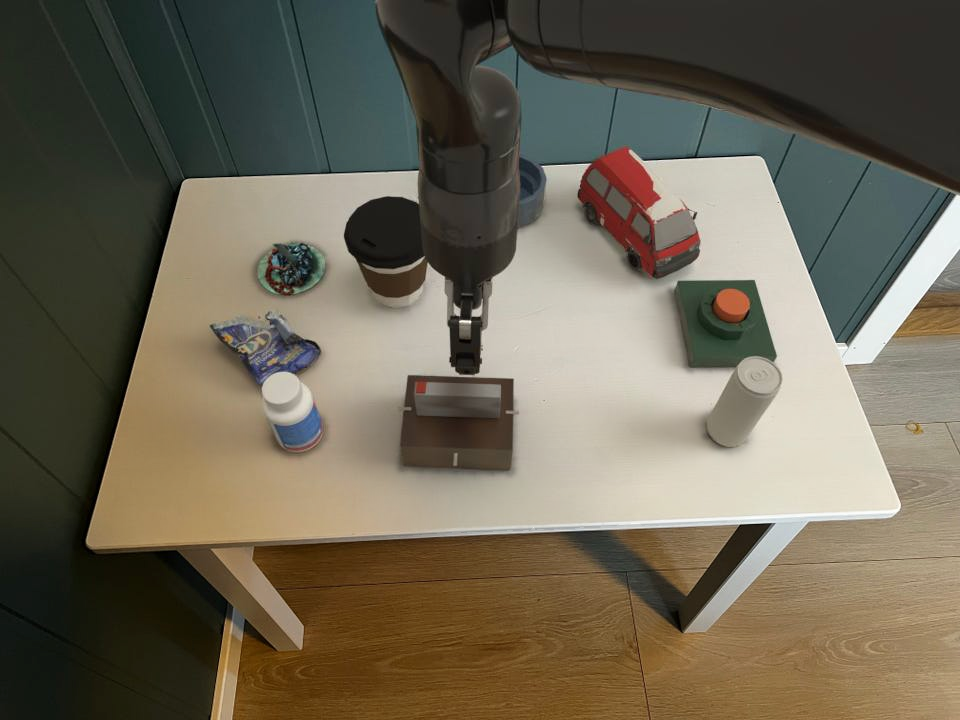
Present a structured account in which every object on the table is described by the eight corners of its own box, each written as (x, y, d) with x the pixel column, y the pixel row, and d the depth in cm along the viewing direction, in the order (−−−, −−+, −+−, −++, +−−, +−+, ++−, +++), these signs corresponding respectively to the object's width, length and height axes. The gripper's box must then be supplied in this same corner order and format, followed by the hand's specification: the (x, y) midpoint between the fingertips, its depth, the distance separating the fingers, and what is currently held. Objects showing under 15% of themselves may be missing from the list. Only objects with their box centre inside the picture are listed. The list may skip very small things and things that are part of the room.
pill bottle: (333, 428, 84) (318, 383, 76) (300, 462, 82) (281, 419, 74) (300, 403, 86) (281, 357, 78) (266, 436, 84) (244, 391, 76)
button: (748, 323, 89) (753, 314, 87) (716, 323, 88) (720, 314, 87) (741, 297, 91) (746, 288, 89) (709, 297, 91) (713, 288, 89)
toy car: (642, 295, 96) (658, 242, 87) (572, 204, 105) (581, 149, 96) (699, 272, 98) (720, 218, 89) (626, 185, 107) (638, 129, 99)
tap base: (517, 385, 88) (519, 362, 83) (516, 487, 80) (518, 467, 76) (407, 382, 88) (404, 358, 84) (396, 483, 81) (392, 463, 76)
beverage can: (698, 418, 85) (727, 361, 75) (734, 408, 86) (768, 350, 76) (717, 454, 83) (750, 400, 73) (755, 442, 84) (793, 387, 74)
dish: (329, 270, 94) (276, 239, 91) (301, 313, 96) (248, 284, 94) (331, 249, 101) (282, 220, 98) (305, 290, 103) (256, 262, 101)
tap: (499, 406, 80) (500, 383, 76) (499, 418, 79) (500, 396, 75) (418, 403, 80) (415, 380, 76) (416, 415, 80) (413, 393, 76)
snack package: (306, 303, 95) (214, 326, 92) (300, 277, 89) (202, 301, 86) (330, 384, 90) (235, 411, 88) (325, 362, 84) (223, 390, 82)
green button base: (771, 366, 89) (782, 348, 86) (689, 367, 89) (698, 348, 86) (749, 290, 96) (759, 270, 93) (673, 291, 96) (681, 271, 93)
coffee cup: (402, 337, 92) (393, 275, 82) (338, 296, 95) (322, 231, 85) (456, 284, 96) (454, 218, 86) (393, 246, 100) (384, 180, 90)
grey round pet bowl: (557, 211, 104) (561, 185, 100) (497, 241, 101) (498, 215, 97) (515, 170, 109) (517, 143, 105) (456, 197, 105) (456, 170, 101)
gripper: (517, 281, 51) (508, 399, 64) (520, 145, 59) (511, 275, 72) (410, 277, 51) (423, 396, 65) (427, 141, 59) (435, 272, 72)
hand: (469, 332), depth 68 cm, fingers open, 8 cm apart
